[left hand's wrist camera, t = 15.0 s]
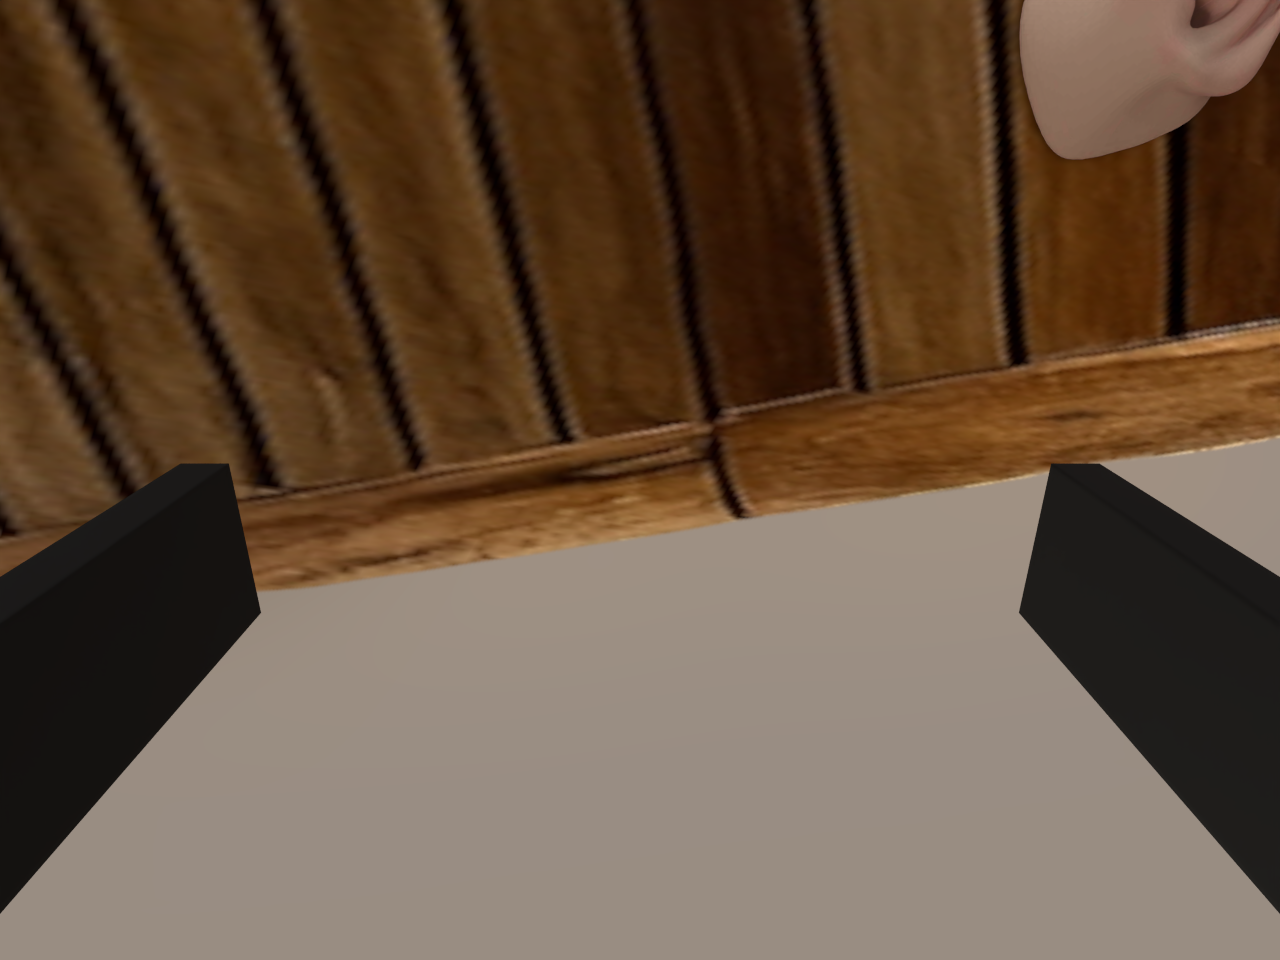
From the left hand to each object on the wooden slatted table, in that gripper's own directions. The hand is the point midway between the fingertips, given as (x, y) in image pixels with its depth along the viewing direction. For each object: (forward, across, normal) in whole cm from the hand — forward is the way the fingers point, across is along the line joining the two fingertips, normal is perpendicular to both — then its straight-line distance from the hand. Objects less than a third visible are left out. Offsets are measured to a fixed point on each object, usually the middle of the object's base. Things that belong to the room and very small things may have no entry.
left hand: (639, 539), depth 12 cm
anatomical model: (+30, -24, -13) cm, 40 cm away
